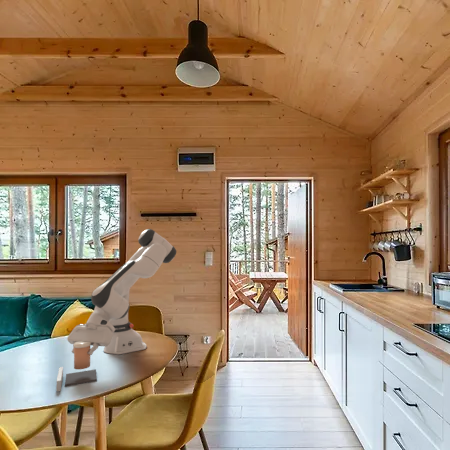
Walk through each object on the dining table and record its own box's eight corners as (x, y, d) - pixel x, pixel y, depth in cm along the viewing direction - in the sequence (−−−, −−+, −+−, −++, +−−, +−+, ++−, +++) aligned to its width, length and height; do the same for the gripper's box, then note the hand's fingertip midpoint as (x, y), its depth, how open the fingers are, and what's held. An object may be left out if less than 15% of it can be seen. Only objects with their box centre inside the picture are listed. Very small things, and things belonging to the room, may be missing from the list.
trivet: (95, 371, 147) (95, 369, 147) (96, 381, 136) (96, 379, 136) (66, 375, 142) (66, 373, 142) (64, 386, 131) (64, 384, 132)
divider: (63, 376, 142) (63, 366, 142) (60, 391, 127) (60, 380, 128) (59, 376, 141) (59, 367, 142) (56, 391, 127) (56, 381, 127)
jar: (90, 362, 144) (90, 339, 145) (91, 367, 138) (91, 343, 138) (73, 365, 141) (73, 341, 142) (73, 370, 135) (73, 346, 136)
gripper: (74, 320, 150) (57, 348, 140) (112, 322, 145) (98, 351, 135) (80, 327, 154) (65, 355, 144) (118, 329, 149) (104, 359, 139)
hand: (81, 353), depth 139 cm, fingers closed on jar, 6 cm apart
